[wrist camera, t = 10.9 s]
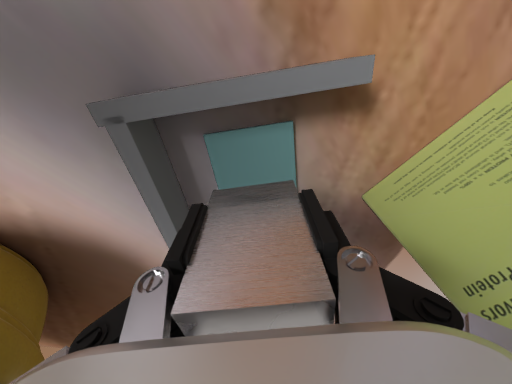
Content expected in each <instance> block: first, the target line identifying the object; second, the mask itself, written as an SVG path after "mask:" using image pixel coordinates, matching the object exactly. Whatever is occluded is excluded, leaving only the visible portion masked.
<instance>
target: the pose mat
mask: <svg viewBox="0 0 512 384" xmlns="http://www.w3.org/2000/svg"><path fill="white" fill-rule="evenodd" d="M203 136H204V140H205V143H206V147H207V150H208V154H209V157H210V161H211V165H212V168H213V172H214V175H215V179H216V182H217V186H218V189H219V190H221V189H229V188H236V187H244V186H251V185H259V184H266V183H274V182H281V181H289V180H293V181H294V184H295V186H296V170H295V150H294V131H293V121H286V122H280V123H273V124H267V125H260V126H254V127H248V128H241V129H235V130H228V131H222V132H215V133H209V134H204V135H203Z"/></svg>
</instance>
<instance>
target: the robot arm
mask: <svg viewBox="0 0 512 384" xmlns="http://www.w3.org/2000/svg"><path fill="white" fill-rule="evenodd" d="M298 197H299V200H300V203H301V206H302V209H303V211H304V214H305V217H306V220H307V223H308V226H309V229H310V231H311V234H312V237H313V240H314V243H315V246H316V248H317V250H318V251H319V253H320V256H321V259H322V262H323V265H324V267H325V270H326V273H327V276H328V279H329V281H330V284H331V287H332V290H333V293H334V295H335V298H336V303H335V314H334V324H331V325H318V326H306V327H293V328H280V329H268V330H256V331H244V332H233V333H221V334H209V335H198V336H187V337H185V335H184V334H183V332H182V331H181V329H180V328H179V326H178V325H177V323H176V322H175V320H174V319H173V318H172V316H171V315H170V314H171V311H172V308H173V305H174V303H175V300H176V297H177V294H178V291H179V288H180V285H181V282H182V279H183V276H184V274H185V271H186V268H187V265H188V264H189V262H190V259H191V256H192V253H193V250H194V247H195V244H196V241H197V239H198V236H199V233H200V230H201V227H202V224H203V221H204V218H205V215H206V212H207V209H208V207H207V206H206V205H205V206H204V204H203V203H201V204H193V205H192V206H191V208H190V210H189V212H188V215H187V217H186V219H185V221H184V223H183V225H182V227H181V229H180V230H179V231H178V232H177V234H176V237H175V239H174V241H173V243H172V245H171V247H170V249H169V251H168V253H167V256H166V258H165V260H164V262H163V264H162V266H161V267H155V268H152V269H150V270H148V271H146V272H145V273H143V274H142V275H141V276H140V277H139V278H138V279H137V281H136V282H135V284H134V287H133V290H132V294H131V296H130V297H128V298H127V299H126V300H124V301H123V302H121V303H120V304H119V305H117V306H116V307H114V308H113V309H112V310H110V311H109V312H107V313H106V314H105V315H103V316H102V317H100V318H99V319H98V320H96V321H95V322H93V323H92V324H91V325H89V326H88V327H87V328H85V329H84V330H83V331H82V332H81V333H80V334H79V335H78V336H77V337H76V338H75V340H74V341H73V343H72V344H71V346H70V348H69V347H68V346H65V347H64V348H62V349H61V350H59V351H58V352H56V353H55V354H53V355H52V356H50V357H49V358H47V359H46V360H44V361H42V362H41V363H39V364H38V365H36V366H35V367H33V368H32V369H30V370H29V371H27V372H25V373H24V374H22V375H21V376H19V377H18V378H16V379H15V380H13V381H12V382H10V383H9V384H512V329H509V328H507V327H504V326H502V325H499V324H497V323H495V322H492V321H490V320H487V319H485V318H482V317H480V316H477V315H475V314H473V313H470V312H468V313H467V314H464V313H462V312H459V310H458V309H457V308H456V307H455V306H454V305H453V304H452V303H451V302H449V301H448V300H447V299H445V298H443V297H442V296H440V295H438V294H436V293H434V292H432V291H430V290H428V289H425V288H423V287H421V286H419V285H416V284H415V283H413V282H410V281H408V280H406V279H404V278H402V277H400V276H398V275H395V274H393V273H391V272H389V271H387V270H385V269H383V268H380V267H379V266H378V263H377V260H376V258H375V256H374V255H373V254H372V253H371V252H369V251H368V250H366V249H364V248H362V247H358V246H351V245H350V243H349V241H348V239H347V238H346V236H345V234H344V232H343V230H342V229H341V227H340V225H339V223H338V221H337V220H336V218H335V216H334V214H333V213H332V211H323V210H322V208H321V206H320V204H319V202H318V200H317V198H316V196H315V193H314V191H313V190H312V189H308V190H302V193H298Z"/></svg>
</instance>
